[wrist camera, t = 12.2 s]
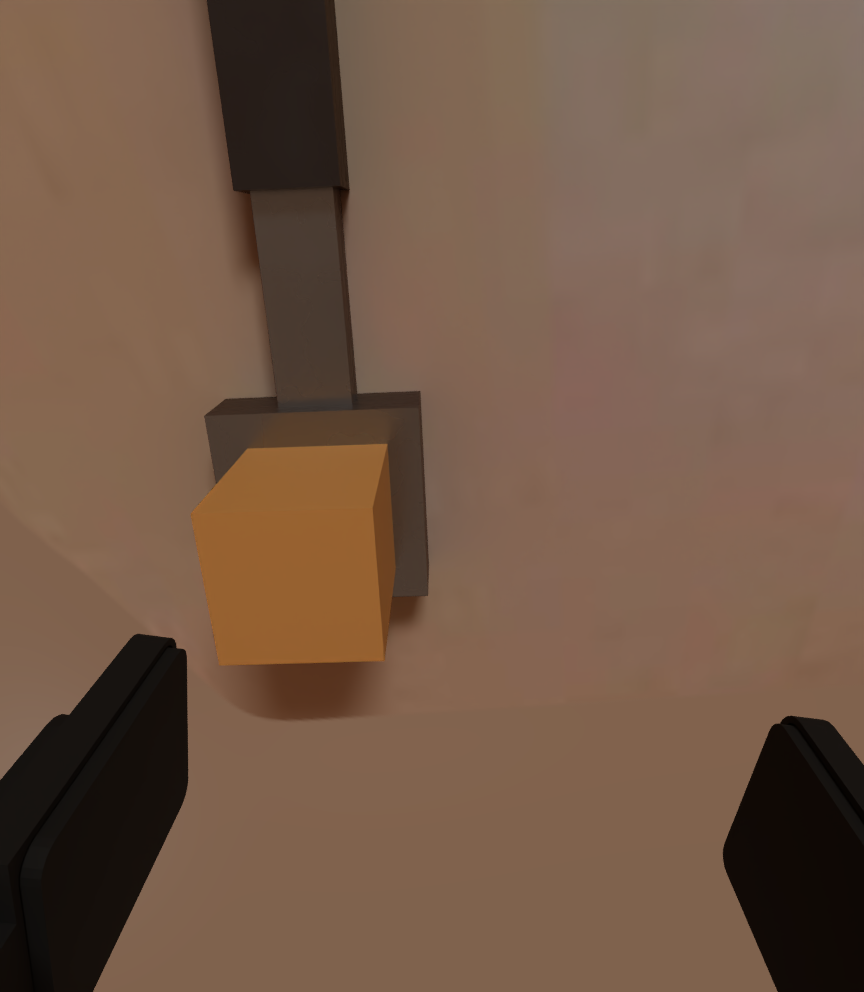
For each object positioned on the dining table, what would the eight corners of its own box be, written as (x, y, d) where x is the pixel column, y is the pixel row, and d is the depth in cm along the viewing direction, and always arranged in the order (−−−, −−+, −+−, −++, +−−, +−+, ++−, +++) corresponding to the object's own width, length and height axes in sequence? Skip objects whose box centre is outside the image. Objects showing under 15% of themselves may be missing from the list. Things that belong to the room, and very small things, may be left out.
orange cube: (387, 443, 28) (372, 507, 22) (395, 568, 30) (384, 660, 24) (247, 448, 28) (190, 513, 22) (265, 572, 30) (219, 665, 24)
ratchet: (428, 565, 34) (427, 631, 28) (253, 571, 34) (217, 638, 28) (392, -180, 23) (377, -313, 17) (134, -165, 23) (37, -291, 17)
